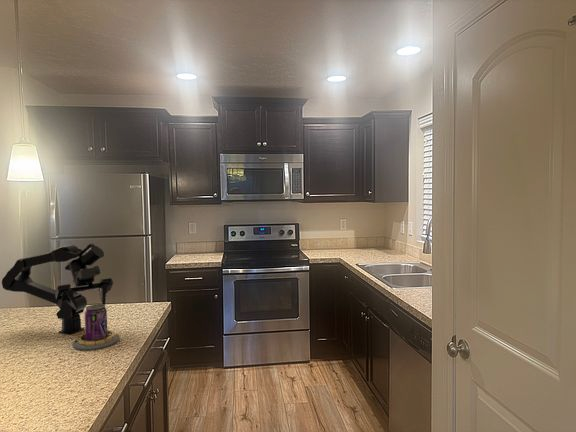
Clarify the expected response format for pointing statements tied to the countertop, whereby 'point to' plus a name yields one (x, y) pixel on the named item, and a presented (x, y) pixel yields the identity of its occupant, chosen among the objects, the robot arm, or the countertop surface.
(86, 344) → the carrier plate
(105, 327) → the beverage can
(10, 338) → the countertop surface
